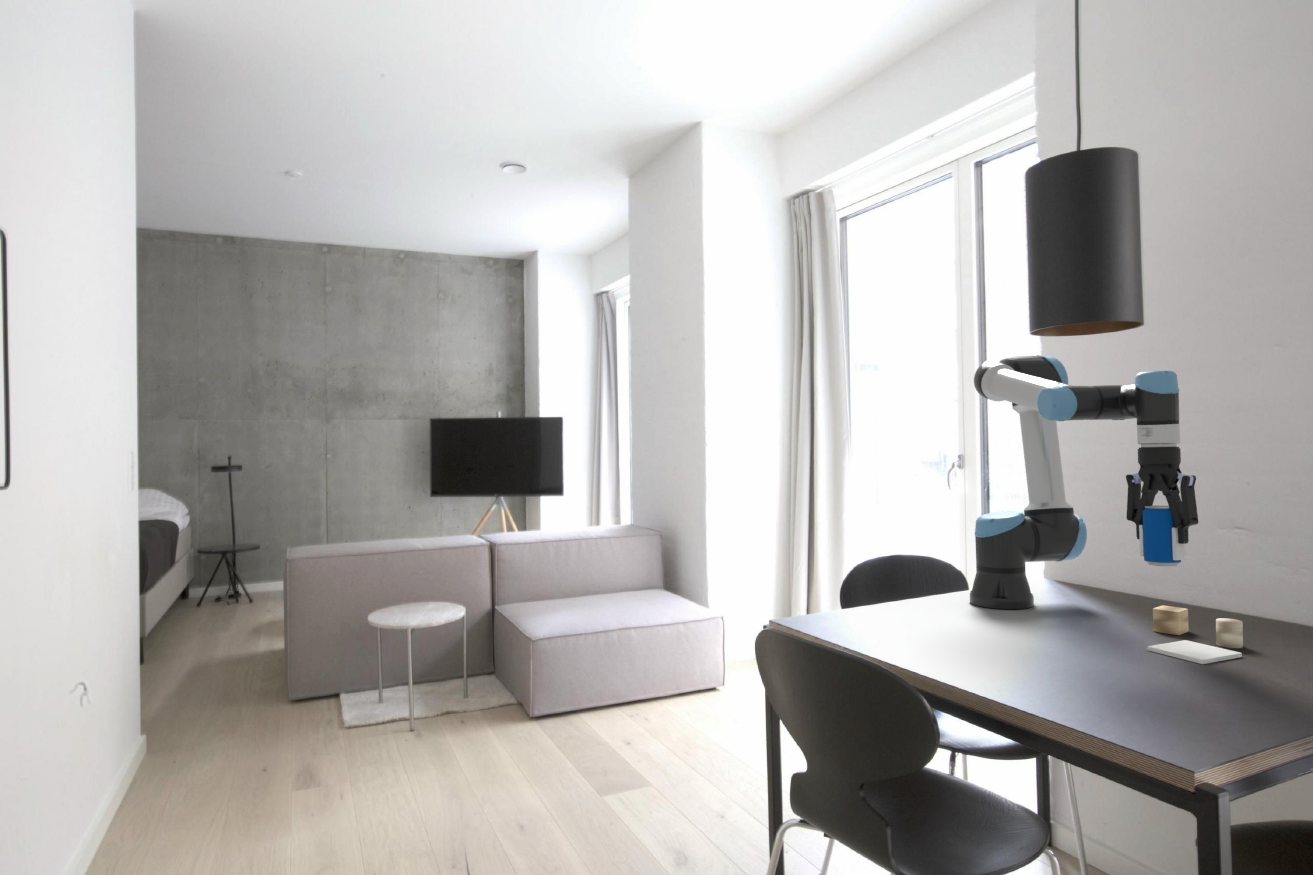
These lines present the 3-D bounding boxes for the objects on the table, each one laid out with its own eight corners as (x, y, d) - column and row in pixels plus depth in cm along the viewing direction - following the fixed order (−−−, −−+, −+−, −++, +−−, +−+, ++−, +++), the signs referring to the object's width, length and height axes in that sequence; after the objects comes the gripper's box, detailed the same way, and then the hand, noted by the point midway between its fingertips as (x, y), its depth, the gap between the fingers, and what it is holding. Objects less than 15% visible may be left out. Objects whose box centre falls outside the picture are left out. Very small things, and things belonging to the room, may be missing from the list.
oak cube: (1153, 631, 175) (1152, 608, 175) (1163, 627, 178) (1162, 605, 178) (1178, 635, 171) (1178, 612, 171) (1188, 631, 174) (1188, 608, 174)
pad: (1147, 650, 160) (1147, 646, 160) (1185, 643, 164) (1185, 639, 164) (1202, 664, 150) (1202, 659, 150) (1241, 656, 154) (1241, 652, 154)
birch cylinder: (1211, 643, 163) (1210, 619, 163) (1226, 641, 165) (1225, 617, 165) (1232, 649, 159) (1232, 623, 159) (1248, 646, 161) (1248, 621, 161)
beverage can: (1187, 567, 162) (1184, 507, 162) (1151, 566, 163) (1149, 507, 163) (1173, 562, 168) (1171, 505, 168) (1139, 562, 169) (1137, 505, 170)
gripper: (1103, 446, 173) (1107, 553, 173) (1192, 445, 155) (1196, 564, 155) (1128, 446, 176) (1132, 551, 176) (1218, 444, 158) (1222, 561, 158)
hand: (1162, 557), depth 165 cm, fingers closed on beverage can, 6 cm apart
